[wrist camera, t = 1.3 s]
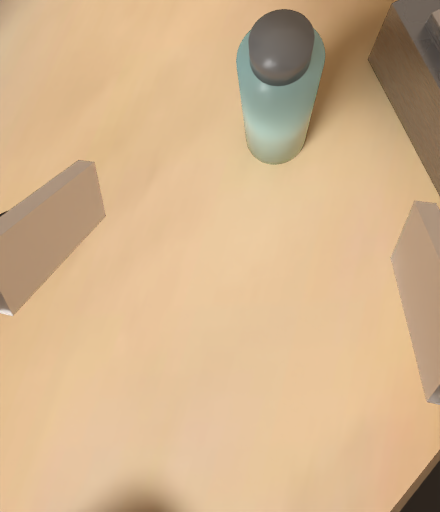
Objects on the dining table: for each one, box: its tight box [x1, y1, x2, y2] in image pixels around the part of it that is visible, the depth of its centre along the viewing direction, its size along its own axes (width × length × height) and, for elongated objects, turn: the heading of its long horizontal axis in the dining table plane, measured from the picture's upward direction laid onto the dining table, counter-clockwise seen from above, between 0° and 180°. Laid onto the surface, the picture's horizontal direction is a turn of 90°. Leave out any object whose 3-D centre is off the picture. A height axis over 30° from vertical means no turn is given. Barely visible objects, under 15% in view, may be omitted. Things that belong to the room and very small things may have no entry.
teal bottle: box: [236, 9, 325, 164], centre depth 25 cm, size 5×5×12 cm
